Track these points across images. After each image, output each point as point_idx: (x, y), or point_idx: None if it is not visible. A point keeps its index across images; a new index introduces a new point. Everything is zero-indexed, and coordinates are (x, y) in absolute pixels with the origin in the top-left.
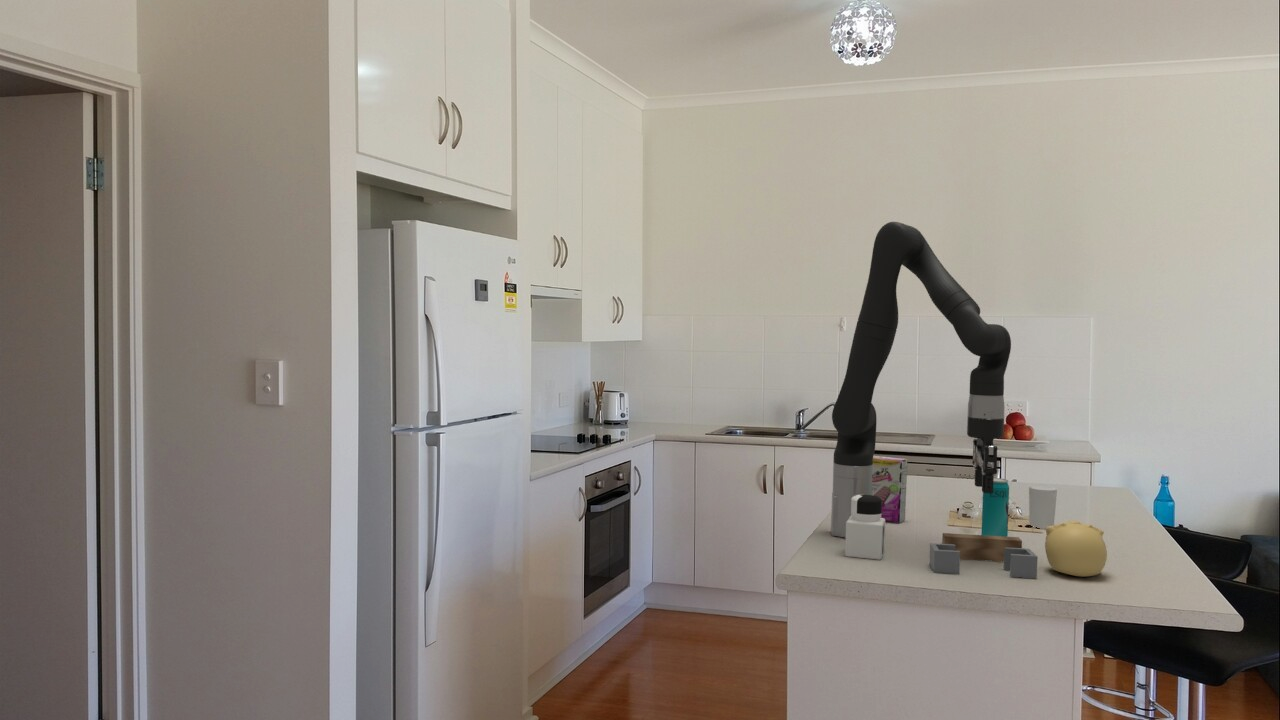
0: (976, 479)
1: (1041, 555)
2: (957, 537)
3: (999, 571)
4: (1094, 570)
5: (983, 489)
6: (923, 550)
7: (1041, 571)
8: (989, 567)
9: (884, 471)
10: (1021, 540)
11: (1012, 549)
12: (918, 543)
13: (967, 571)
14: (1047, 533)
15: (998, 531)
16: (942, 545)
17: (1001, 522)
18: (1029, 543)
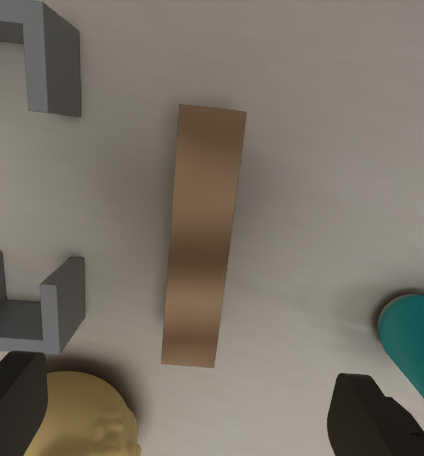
0: (364, 423)
1: (262, 391)
2: (176, 156)
3: (48, 238)
4: None
5: (2, 370)
6: (288, 61)
7: (82, 343)
8: (90, 223)
9: None
10: (164, 363)
11: (42, 304)
12: (398, 68)
13: (17, 143)
14: (78, 446)
15: (393, 345)
16: (26, 55)
17: (410, 374)
18: (399, 402)
